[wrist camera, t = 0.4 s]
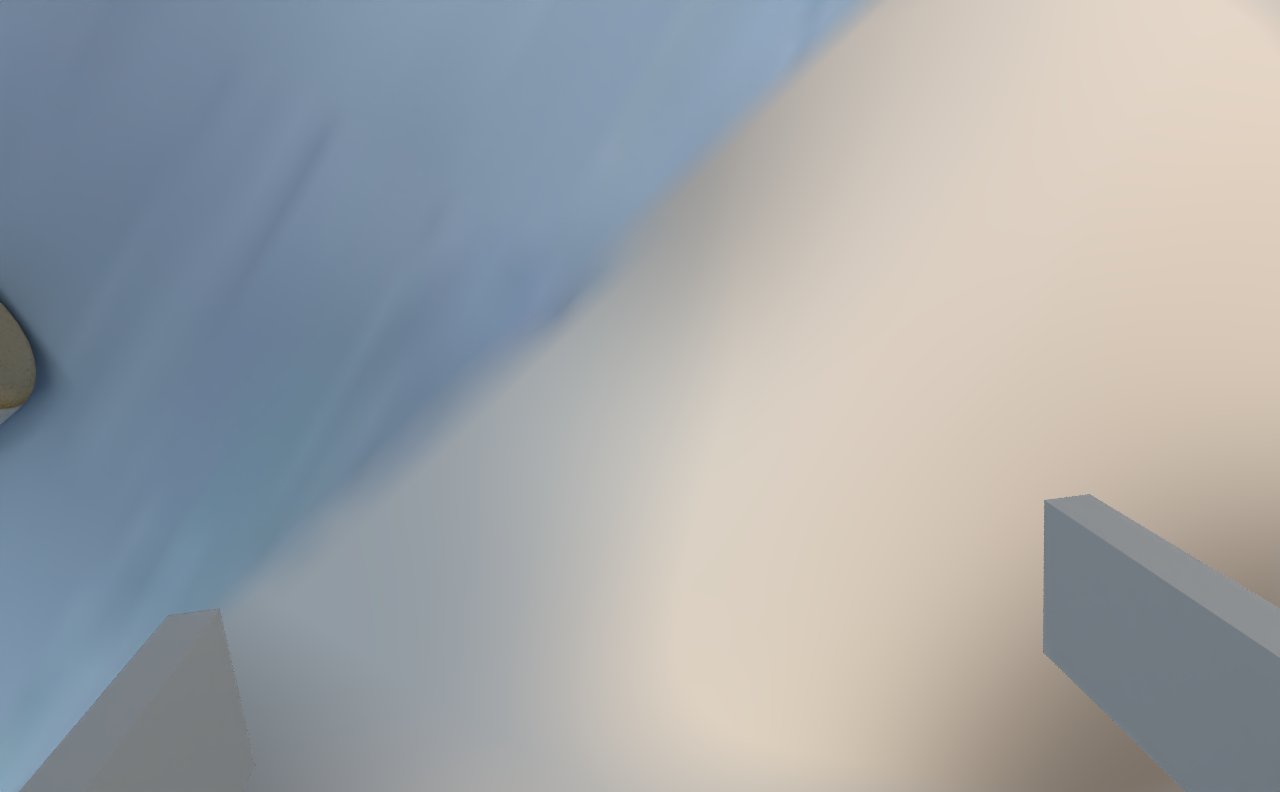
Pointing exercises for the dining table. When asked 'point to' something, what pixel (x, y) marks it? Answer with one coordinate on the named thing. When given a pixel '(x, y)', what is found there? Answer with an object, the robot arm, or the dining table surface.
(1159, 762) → the robot arm
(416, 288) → the dining table surface
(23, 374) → the ceramic mug
